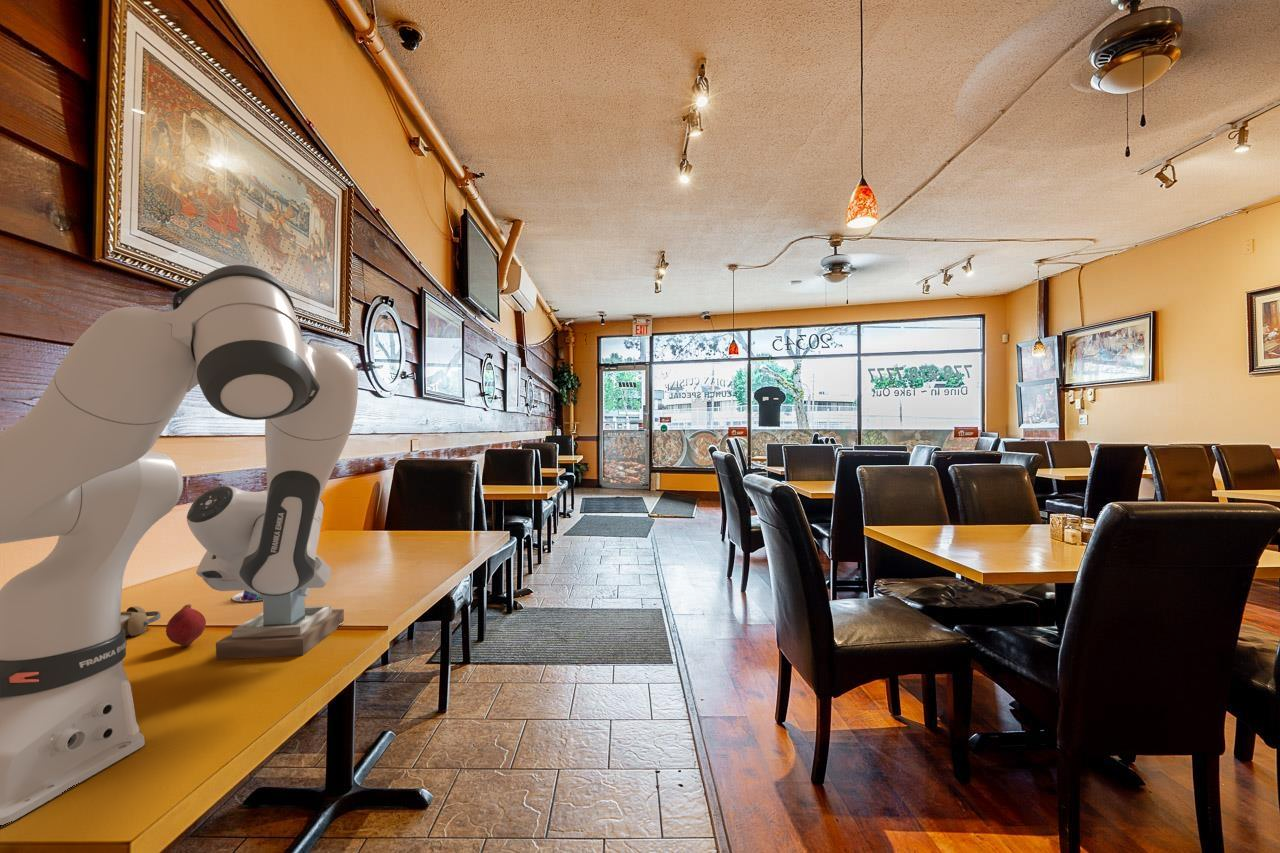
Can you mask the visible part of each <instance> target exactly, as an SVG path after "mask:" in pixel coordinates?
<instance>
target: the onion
mask: <svg viewBox="0 0 1280 853" xmlns="http://www.w3.org/2000/svg"><path fill="white" fill-rule="evenodd" d="M206 627H207V620H206V618H205V616H204V615H203V614H202V613H201V612H200V611H199V610H196V609H194V608H192V604H191V603H186V604H185V605H183V607H182V608H181V609H180V610H179V611H177V612H176V613H174V615H173V616H171V618H170V619H169V620H168V622H167V624H166V627H165V633H166V637H167V638H168V639H169V640H170V641H171V643H174V644H176V645H179V646H182V647H188V646H191V645H192V644H193V643H194V641H196V640H198V638H199V637H200V636H201V635H203V633H204V631H205V629H206Z"/></svg>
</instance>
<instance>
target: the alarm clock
mask: <svg viewBox="0 0 1280 853" xmlns="http://www.w3.org/2000/svg"><path fill="white" fill-rule="evenodd" d="M148 617H150V618H148ZM161 617H162V616H161V611H159V610H158V611H157V610H155V611H154V610H152V611H145V609H144V608H142V607H141V606H136V605H134V606H129V607H128V608H127V609H126V610H125V611H121V628H122V629H124V630H125V637H127V636H130V637H133V638H134V637H138V636H140V635H142V634H144V632H145V631H146V630H147V628H148V626H149V624H152V623H154V622H156V621H158V620H160V619H161Z"/></svg>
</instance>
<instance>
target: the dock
mask: <svg viewBox="0 0 1280 853" xmlns="http://www.w3.org/2000/svg"><path fill="white" fill-rule="evenodd" d="M344 610H345V609H344V608H339V609H337V608H336V609H335V608H334V609H333V606H332V605H313V606H312V605H311V606H310V605H309V606H306V605H305V619H303V620H302V621H300V622H299V623H297V624H296V625H288V626H265V627H264V626H263V612H261V613H259V614H258V615H256V616H254V617H253V618H251V619H248V620H247V621H245V622H242V623H241V624H240V625H238V626H236V627H234V628H232V629H231V633H230V634H228V635H227V636H225V637H223V638H221V639H220V640H218V641H216V642H215V660H228V659H247V658H249V659H250V658H271V657H273V658H275V657H289V656H290V657H292V656H293V657H294V656H295V657H296V656H304V655H306V654H307V653H308V652H309V651H310V650H312V649H313V648H314V647H316V646H317V645H318V644H319V643H321V642H322V641H324V640H325V639H326V638H327V637H329V636H330V635H331V634H332V633H334V631H336V630H337V629H338V628H337V627H338V625H339V624H340V623H342V622H343V621H344V622H345V611H344Z"/></svg>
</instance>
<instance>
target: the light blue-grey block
mask: <svg viewBox="0 0 1280 853" xmlns="http://www.w3.org/2000/svg"><path fill="white" fill-rule="evenodd" d="M297 591H298V589H297V590H295V591H293V592H291V593H288V594H285V595H280V596H268V595H263V600H262V606H263V607H262V609H263V610H262V613H263V626H264V627H265V626H288V625H296V624H297V623H299V622H300V621H302V620H303V619H305V607H306V604H305V603H306V602H305V601H306V600H305V599H306V598H305V597H306V596H299V595H298V594H297Z"/></svg>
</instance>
